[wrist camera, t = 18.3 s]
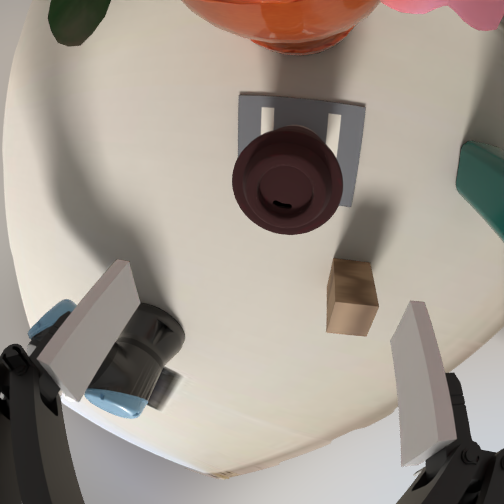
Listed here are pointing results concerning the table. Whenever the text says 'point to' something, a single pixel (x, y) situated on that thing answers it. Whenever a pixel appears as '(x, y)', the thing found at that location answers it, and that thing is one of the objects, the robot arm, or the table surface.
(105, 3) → the potted flower
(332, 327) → the walnut block
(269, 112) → the letter mat
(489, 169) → the pitcher
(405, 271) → the table surface
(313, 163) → the coffee cup
